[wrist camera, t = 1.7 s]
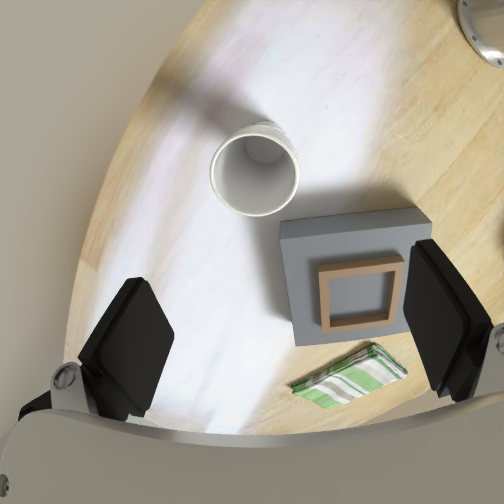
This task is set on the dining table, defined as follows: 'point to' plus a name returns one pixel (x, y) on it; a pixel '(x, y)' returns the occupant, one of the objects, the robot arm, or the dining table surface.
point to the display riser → (349, 273)
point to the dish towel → (351, 378)
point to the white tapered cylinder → (255, 170)
